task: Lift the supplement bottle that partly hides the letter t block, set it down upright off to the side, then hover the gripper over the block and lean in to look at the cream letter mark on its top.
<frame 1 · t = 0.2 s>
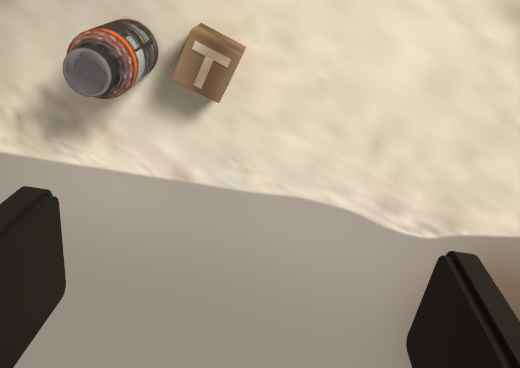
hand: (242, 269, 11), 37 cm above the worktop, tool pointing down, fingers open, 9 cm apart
supplement bottle: (132, 48, 45), on the worktop
letter t block: (214, 57, 45), on the worktop
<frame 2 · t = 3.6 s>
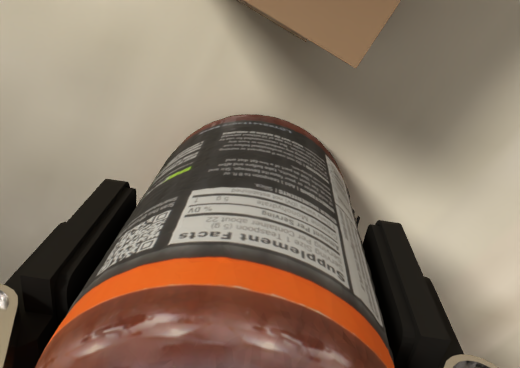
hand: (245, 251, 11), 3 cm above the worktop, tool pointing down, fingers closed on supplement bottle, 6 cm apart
supplement bottle: (255, 193, 14), on the worktop, touching gripper
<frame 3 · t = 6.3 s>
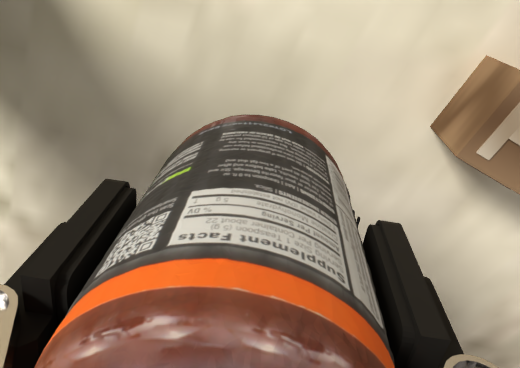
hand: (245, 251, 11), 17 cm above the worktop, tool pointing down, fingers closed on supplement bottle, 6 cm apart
supplement bottle: (255, 193, 14), point 14 cm above the worktop, touching gripper
letter t block: (489, 112, 26), on the worktop
when the fingers open (4 cm above the worktop, at t = 9.2 s): supplement bottle drops 1 cm, on the worktop.
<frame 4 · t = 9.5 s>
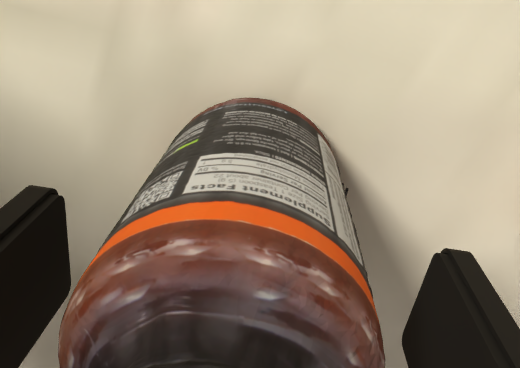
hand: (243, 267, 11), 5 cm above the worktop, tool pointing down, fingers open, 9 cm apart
supplement bottle: (254, 171, 16), on the worktop
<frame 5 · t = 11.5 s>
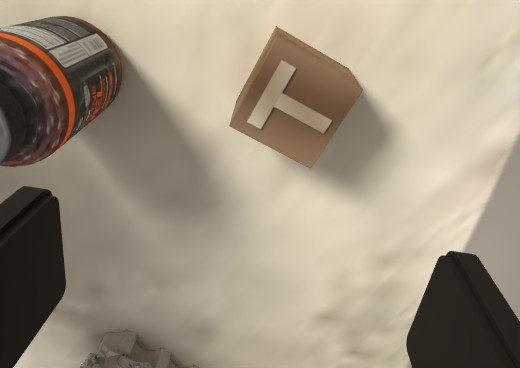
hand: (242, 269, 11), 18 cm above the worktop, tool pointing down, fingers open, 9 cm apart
supplement bottle: (78, 65, 27), on the worktop
egg carton: (149, 365, 39), on the worktop
letter t block: (291, 84, 27), on the worktop
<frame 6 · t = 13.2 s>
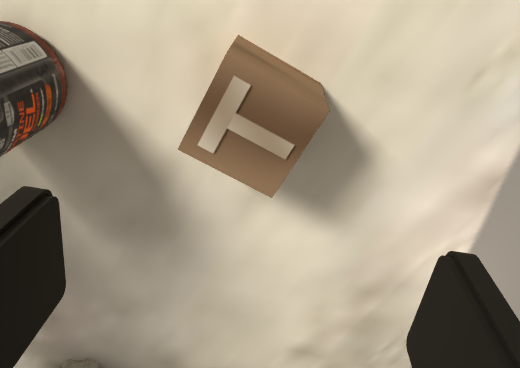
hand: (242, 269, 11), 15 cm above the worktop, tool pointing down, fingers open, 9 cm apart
supplement bottle: (19, 75, 24), on the worktop
letter t block: (257, 99, 24), on the worktop
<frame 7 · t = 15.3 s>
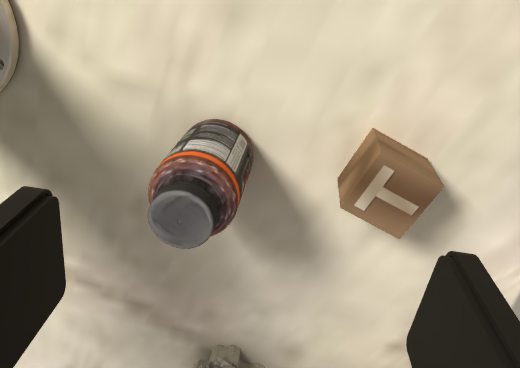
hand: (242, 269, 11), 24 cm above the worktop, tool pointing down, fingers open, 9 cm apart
supplement bottle: (219, 150, 36), on the worktop
letter t block: (381, 168, 34), on the worktop
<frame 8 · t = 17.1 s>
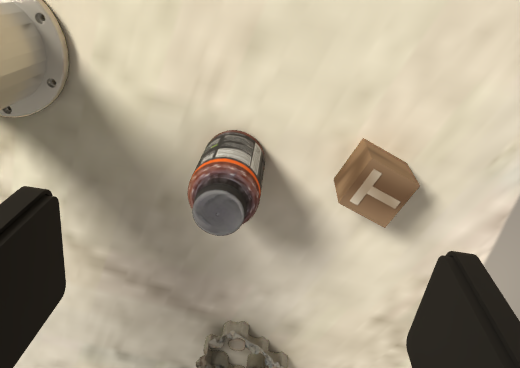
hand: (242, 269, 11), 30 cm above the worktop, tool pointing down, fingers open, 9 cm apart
supplement bottle: (235, 155, 43), on the worktop
egg carton: (248, 348, 54), on the worktop
letter t block: (369, 170, 42), on the worktop
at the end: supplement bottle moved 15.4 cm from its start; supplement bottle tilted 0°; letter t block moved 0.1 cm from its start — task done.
